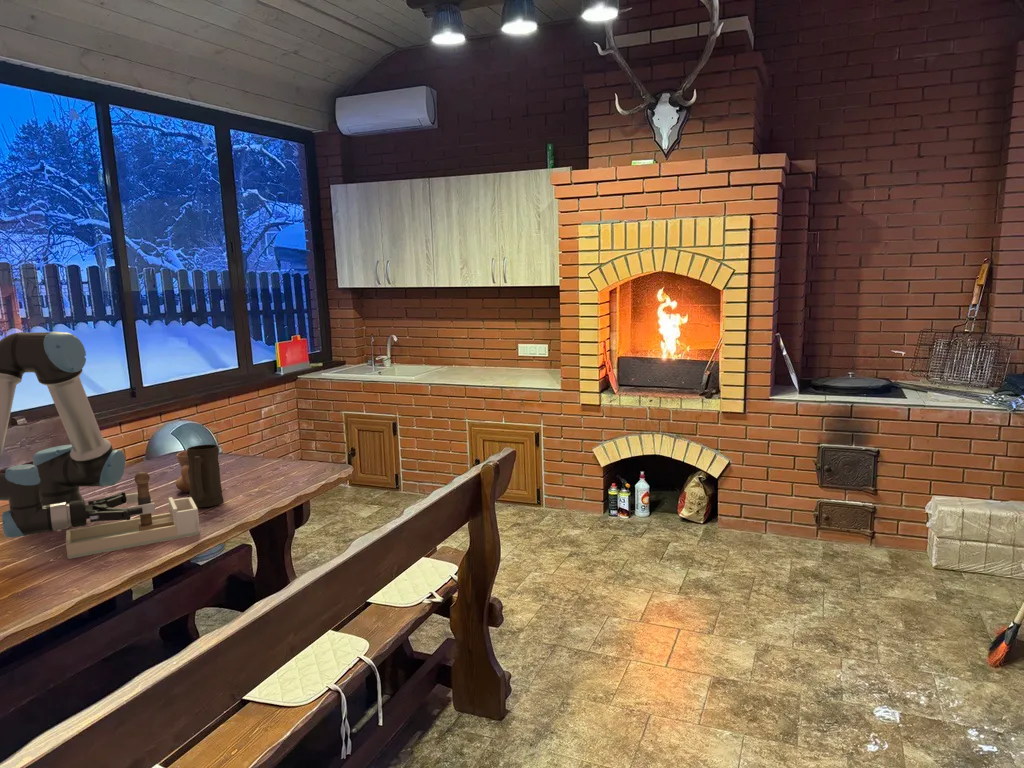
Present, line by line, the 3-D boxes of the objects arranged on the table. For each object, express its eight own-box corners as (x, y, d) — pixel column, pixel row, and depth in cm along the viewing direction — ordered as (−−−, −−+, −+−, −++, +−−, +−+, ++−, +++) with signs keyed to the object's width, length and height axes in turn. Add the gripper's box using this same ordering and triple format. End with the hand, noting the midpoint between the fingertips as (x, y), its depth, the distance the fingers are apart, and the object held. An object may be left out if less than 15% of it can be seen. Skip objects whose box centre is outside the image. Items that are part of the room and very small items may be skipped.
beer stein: (190, 501, 246) (185, 444, 243) (224, 497, 250) (219, 441, 247) (187, 514, 232) (182, 455, 229) (223, 510, 236) (218, 452, 233)
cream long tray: (68, 543, 209) (64, 513, 207) (193, 521, 226) (190, 493, 225) (67, 559, 197) (64, 528, 195) (199, 534, 214) (197, 505, 213)
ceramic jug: (191, 482, 268) (188, 446, 266) (228, 483, 267) (225, 446, 265) (164, 497, 251) (160, 458, 248) (203, 498, 249) (200, 459, 247)
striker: (139, 531, 214) (133, 471, 211) (175, 524, 219) (170, 465, 216) (140, 536, 210) (134, 475, 207) (177, 529, 215) (172, 469, 212)
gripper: (70, 515, 213) (149, 502, 224) (71, 541, 192) (158, 525, 203) (67, 491, 212) (147, 479, 223) (68, 514, 191) (155, 500, 202)
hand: (152, 501), depth 213 cm, fingers open, 13 cm apart
